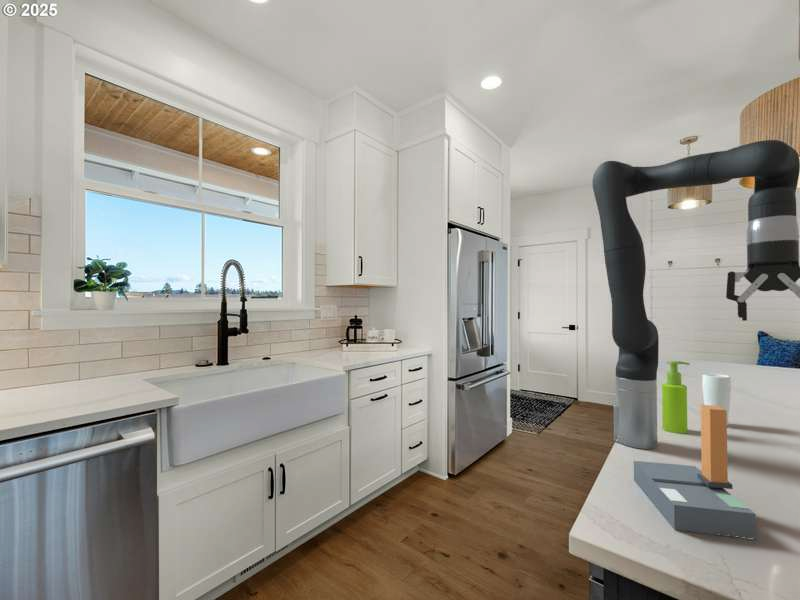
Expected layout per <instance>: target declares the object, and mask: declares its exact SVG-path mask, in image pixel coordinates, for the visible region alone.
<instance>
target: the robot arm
mask: <svg viewBox="0 0 800 600" xmlns="http://www.w3.org/2000/svg"><path fill="white" fill-rule="evenodd" d="M799 176H800V155H799V153H798V152H797V150H796V149H795V148H793V147H792V146H790V145H789V144H788V143H786V142H784V141H782V140H779V139H778V140H777V139H767V140H759V141H753V142H750V143H749V142H748V143H746V144H743V145H739V146H736V147H732V148H730V149H727V150H721V151H714V152H712V151H711V152H707V153H700V154H695V155H691V156H686V157H682V158H680V159H677V160H676V159H675V160H673V161H670V162H668V163H663V164H661V165H653V166H634V165H633V166H632V165H631V164H628V163H624V162H621V161H617V160H607V161H605V162H603V163H601V164H600V165H598V167H597V168H596V169H595V171H594V173H593V176H592V191H593V195H594V199H595V202H596V206H597V211H598V214H599V215H598V216H599V221H600V228H601V237H602V244H603V254H604V255H603V256H604V263H605V270H606V275H607V282H608V288H609V294H610V299H611V336H612V339H613V341H614V344H615V345H616V347H618V360H617V362H616V366H615V404H614V405H613V441H614V442H617V443H620V444H622V445H624V446H627V447H632V448H636V449H643V450H644V449H646V450H649V449H650V450H652V449H656V448H657V447H658V385H657V382H658V380H657V378H658V376H657V375H658V374H657V373H658V367H659V340H660V339H659V331H658V329H657V326H656V325H655V323H654V322H652V320H650V319H648V316H647V312H646V311H647V310H646V307H645V300H644V288H645V281H646V269H647V267H646V255H645V248H644V243H643V242H644V241H643V238H642V235H641V234H640V232H639V229H638V227H637V226H636V224H635V222H634V219H633V218H632V217H631V214H630V212H629V208H628V203H627V198H629V197H634V196H637V195H641V194H645V193H649V192H654V191H660V190H666V189H667V190H668V189H676V188H689V187H691V188H692V187H701V186H711V185H720V184H725V183H728V182H730V181H731V180H734V179H741V178H750V177H751V178H754V187H753V188H754V190H753V193H752V194H751V195H750V197H749V199H748V203H747V218H748V219H747V220H748V222H747V228H746V229H747V230H746V260H747V261H746V265H747V266H746V267H747V268H746V270H745V271H743V272H740V271H739V272H735V271H729V272H727V276H726V277H727V279H726V291H725V292H726V293H725V294H726V296H725V298H726V299H727V300H731V301H734V302H736V303H737V316H738V318H740V319H742V320H741V321H743V322H744V321H748V308H747V307H748V304H747V303H748V302H746V301H747V300H748V299H749V298H750V297H751V296H752V295H753V294H754V293H755V292H756V291H757V290H758V291H760V292H771V291H775V292H784V291H788V290H790V291H791V292H792V293H793V294H794V295H796V296H797V297H798V298H799V299H800V285H798V284H797V281H798V280H800V245H799V244H800V243H799V242H800V239H799V238H800V234H799V232H800V231H799V224H798V223H799V222H798V218H797V196H796V191H797V188H798V183H799ZM742 278H745V279H746V280H747V281H748V282H749V283H750V284H751V285H749V286H748V287H747V288H746V290H745V291H743V292H742V293H741V295H736V294H735V293H736V292H735V291H736V283H738V282H740V281H741V279H742ZM618 436H619V437H618ZM617 439H618V440H617ZM616 440H617V441H616Z"/></svg>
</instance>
